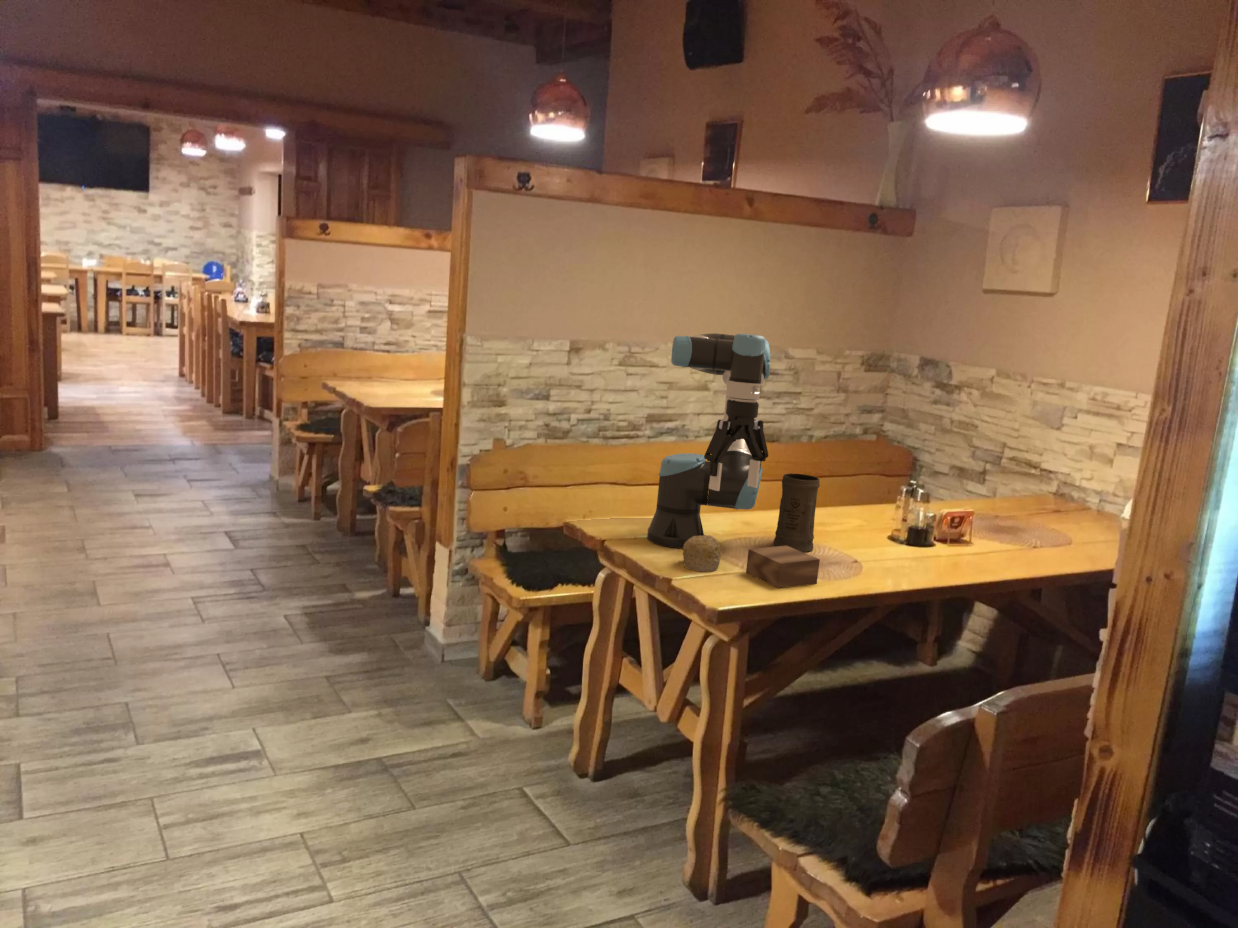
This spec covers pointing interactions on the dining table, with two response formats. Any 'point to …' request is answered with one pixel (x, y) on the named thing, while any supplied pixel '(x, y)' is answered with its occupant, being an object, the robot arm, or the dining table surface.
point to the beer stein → (797, 512)
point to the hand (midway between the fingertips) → (733, 488)
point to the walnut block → (782, 566)
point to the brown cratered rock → (702, 553)
